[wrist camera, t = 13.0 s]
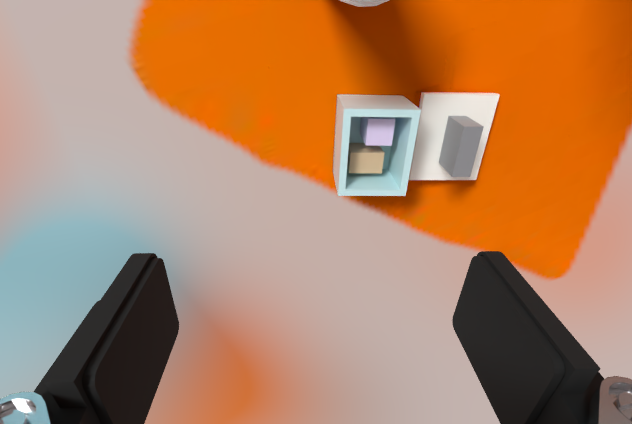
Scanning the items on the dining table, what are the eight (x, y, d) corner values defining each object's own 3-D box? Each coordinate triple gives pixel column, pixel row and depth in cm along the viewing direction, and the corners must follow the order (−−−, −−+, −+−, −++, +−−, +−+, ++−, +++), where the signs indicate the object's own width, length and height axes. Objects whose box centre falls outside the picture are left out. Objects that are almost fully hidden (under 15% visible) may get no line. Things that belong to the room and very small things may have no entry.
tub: (337, 94, 41) (343, 108, 35) (403, 95, 41) (420, 109, 35) (332, 171, 46) (338, 195, 40) (391, 171, 46) (405, 195, 40)
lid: (419, 90, 41) (437, 102, 36) (492, 91, 42) (521, 103, 36) (405, 174, 47) (419, 195, 41) (470, 174, 47) (492, 195, 42)
